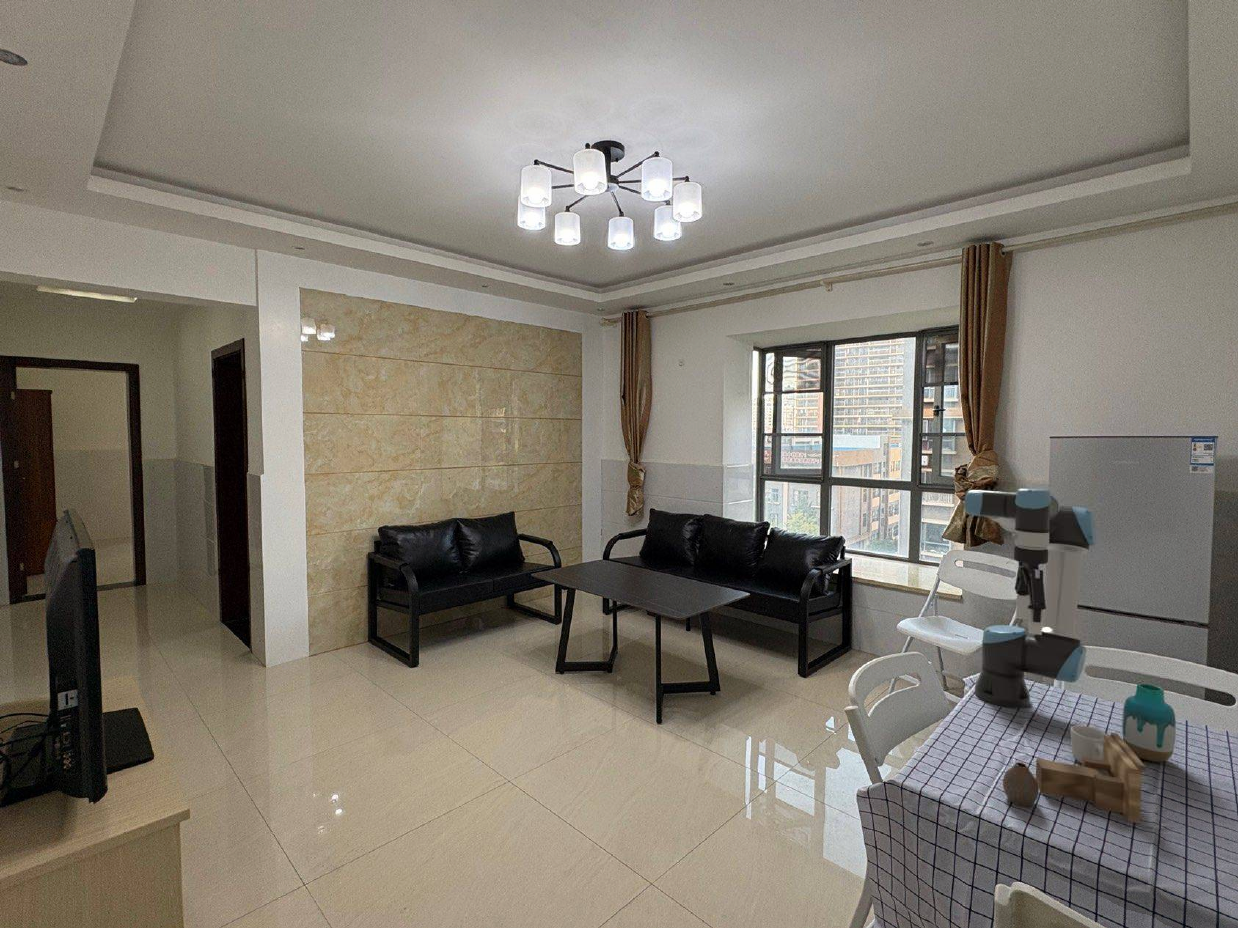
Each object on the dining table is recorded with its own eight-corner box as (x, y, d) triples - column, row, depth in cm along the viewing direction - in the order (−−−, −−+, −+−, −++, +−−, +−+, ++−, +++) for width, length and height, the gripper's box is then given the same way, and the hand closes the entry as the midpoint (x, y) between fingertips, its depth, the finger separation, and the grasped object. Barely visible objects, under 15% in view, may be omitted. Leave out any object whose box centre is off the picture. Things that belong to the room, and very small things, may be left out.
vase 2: (1169, 754, 161) (1172, 684, 161) (1178, 773, 153) (1181, 699, 152) (1118, 743, 167) (1121, 675, 166) (1124, 760, 158) (1127, 689, 158)
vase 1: (1011, 808, 138) (1012, 771, 137) (996, 791, 144) (998, 755, 144) (1044, 811, 137) (1045, 774, 136) (1028, 793, 143) (1029, 757, 143)
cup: (1121, 778, 150) (1123, 746, 150) (1085, 774, 152) (1086, 743, 151) (1096, 755, 161) (1098, 726, 160) (1063, 752, 162) (1064, 723, 162)
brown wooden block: (1040, 792, 144) (1041, 767, 144) (1035, 781, 148) (1036, 758, 148) (1112, 805, 139) (1113, 780, 139) (1105, 794, 143) (1106, 770, 143)
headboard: (1077, 778, 150) (1079, 727, 149) (1114, 785, 147) (1117, 733, 147) (1100, 815, 135) (1103, 759, 135) (1143, 824, 132) (1145, 766, 132)
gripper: (1004, 538, 172) (1001, 611, 173) (1026, 554, 149) (1023, 638, 150) (1035, 540, 169) (1032, 614, 170) (1062, 556, 146) (1059, 642, 147)
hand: (1028, 626), depth 160 cm, fingers open, 13 cm apart
